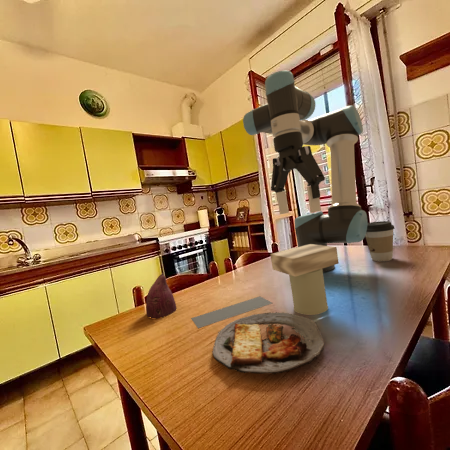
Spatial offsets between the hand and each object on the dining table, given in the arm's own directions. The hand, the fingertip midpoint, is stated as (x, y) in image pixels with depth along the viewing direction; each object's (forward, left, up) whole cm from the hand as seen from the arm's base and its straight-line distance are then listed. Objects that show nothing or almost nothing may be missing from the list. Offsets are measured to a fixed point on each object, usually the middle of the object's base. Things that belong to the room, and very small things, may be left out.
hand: (298, 212), depth 71 cm
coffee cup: (-16, +50, -27) cm, 59 cm away
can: (+1, -1, -27) cm, 27 cm away
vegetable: (-30, -38, -27) cm, 56 cm away
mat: (-13, -19, -27) cm, 35 cm away
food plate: (+9, -20, -27) cm, 35 cm away
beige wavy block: (+1, -1, -15) cm, 15 cm away
